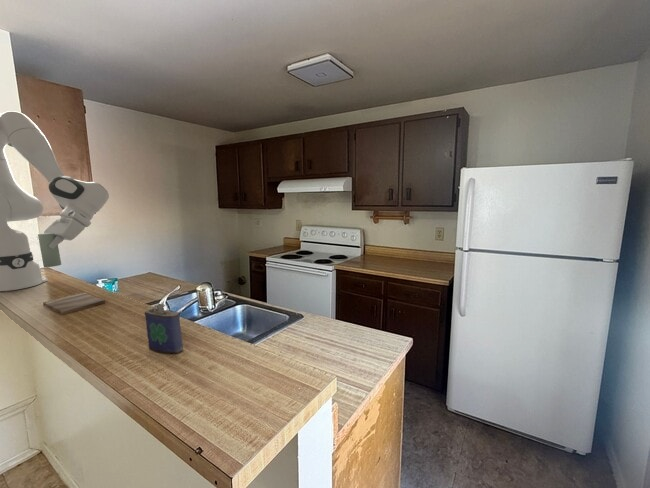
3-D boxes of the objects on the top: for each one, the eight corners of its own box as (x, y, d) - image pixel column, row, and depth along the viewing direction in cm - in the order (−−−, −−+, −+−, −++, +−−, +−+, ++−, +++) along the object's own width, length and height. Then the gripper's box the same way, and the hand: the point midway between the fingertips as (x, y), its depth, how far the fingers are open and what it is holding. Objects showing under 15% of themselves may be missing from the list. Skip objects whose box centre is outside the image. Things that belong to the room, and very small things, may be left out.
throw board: (43, 305, 109) (42, 301, 109) (83, 294, 119) (83, 292, 119) (62, 314, 99) (62, 311, 99) (104, 302, 109) (104, 299, 109)
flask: (186, 349, 74) (180, 304, 72) (175, 356, 71) (169, 309, 69) (155, 343, 78) (149, 300, 76) (144, 350, 75) (137, 304, 73)
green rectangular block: (41, 266, 114) (35, 234, 113) (58, 263, 119) (53, 232, 117) (46, 267, 112) (40, 234, 110) (63, 264, 116) (58, 233, 114)
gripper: (56, 212, 123) (28, 240, 117) (77, 212, 112) (47, 243, 106) (71, 222, 128) (45, 249, 121) (93, 223, 117) (65, 253, 110)
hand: (46, 246), depth 113 cm, fingers closed on green rectangular block, 5 cm apart
